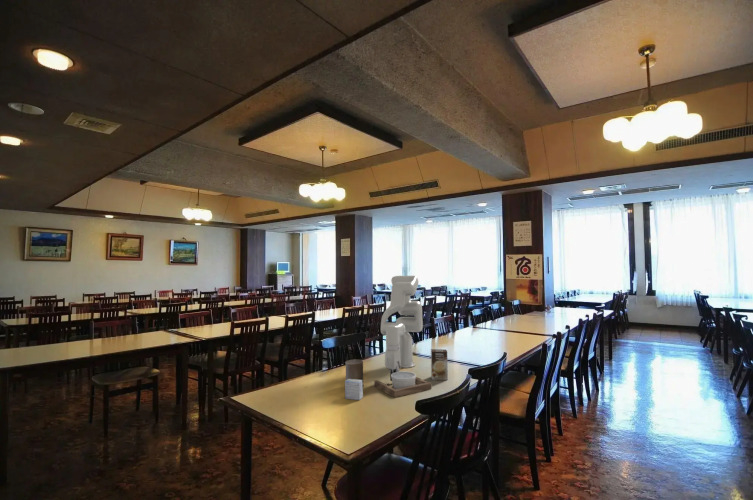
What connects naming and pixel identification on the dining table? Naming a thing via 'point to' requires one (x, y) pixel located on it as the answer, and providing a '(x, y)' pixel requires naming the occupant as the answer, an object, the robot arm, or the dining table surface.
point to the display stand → (420, 386)
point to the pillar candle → (354, 369)
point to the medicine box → (353, 389)
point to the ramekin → (403, 379)
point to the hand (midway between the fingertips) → (393, 380)
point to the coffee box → (439, 364)
